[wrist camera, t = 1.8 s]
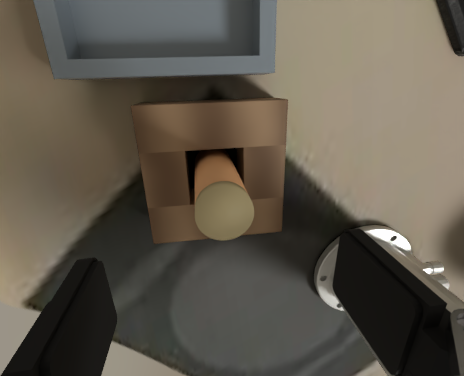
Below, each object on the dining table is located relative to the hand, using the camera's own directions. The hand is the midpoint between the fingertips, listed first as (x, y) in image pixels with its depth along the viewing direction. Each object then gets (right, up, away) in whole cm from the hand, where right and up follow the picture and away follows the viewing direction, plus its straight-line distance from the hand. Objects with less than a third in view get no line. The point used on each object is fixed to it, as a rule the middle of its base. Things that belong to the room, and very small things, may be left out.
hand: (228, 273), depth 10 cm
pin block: (-2, +6, +15) cm, 17 cm away
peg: (-2, +6, +15) cm, 17 cm away
